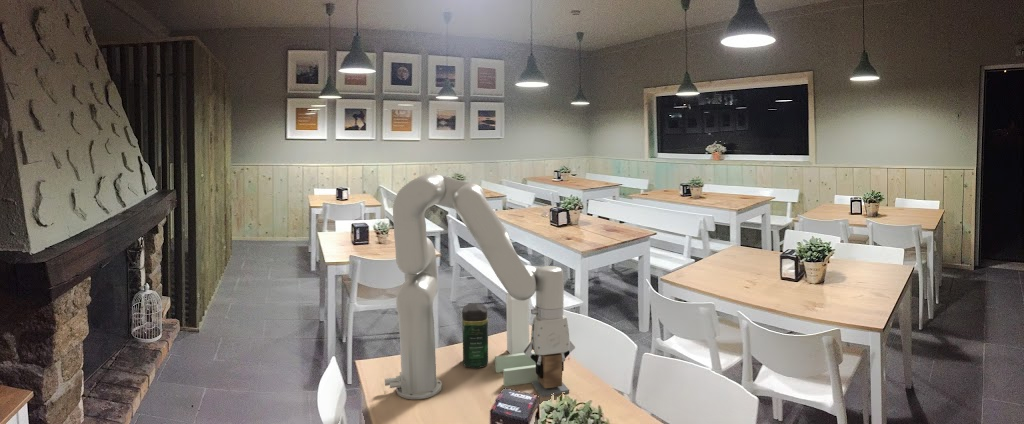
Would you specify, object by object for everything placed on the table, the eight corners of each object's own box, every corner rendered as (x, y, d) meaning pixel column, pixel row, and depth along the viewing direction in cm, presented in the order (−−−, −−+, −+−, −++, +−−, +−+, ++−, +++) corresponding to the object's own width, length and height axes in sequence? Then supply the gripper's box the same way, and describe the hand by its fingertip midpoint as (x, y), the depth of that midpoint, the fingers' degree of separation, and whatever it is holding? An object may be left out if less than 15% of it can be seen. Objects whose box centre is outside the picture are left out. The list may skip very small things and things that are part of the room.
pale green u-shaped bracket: (504, 386, 152) (504, 371, 152) (495, 370, 163) (494, 356, 162) (561, 378, 157) (561, 363, 156) (548, 363, 167) (548, 349, 167)
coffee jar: (489, 368, 164) (488, 309, 162) (463, 370, 164) (461, 310, 161) (488, 356, 174) (486, 300, 171) (463, 357, 173) (461, 301, 171)
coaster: (541, 396, 146) (541, 394, 146) (532, 384, 153) (532, 381, 153) (569, 392, 148) (569, 389, 148) (558, 380, 156) (558, 377, 156)
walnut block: (544, 388, 147) (544, 356, 146) (537, 379, 153) (537, 348, 152) (562, 386, 148) (562, 354, 147) (554, 377, 154) (554, 346, 153)
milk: (529, 354, 175) (529, 288, 172) (511, 357, 173) (511, 290, 170) (524, 347, 180) (523, 283, 177) (506, 349, 179) (505, 285, 176)
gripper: (524, 319, 142) (524, 385, 144) (584, 312, 147) (583, 376, 149) (515, 310, 149) (516, 373, 151) (573, 304, 154) (572, 365, 156)
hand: (549, 374), depth 150 cm, fingers closed on walnut block, 4 cm apart
